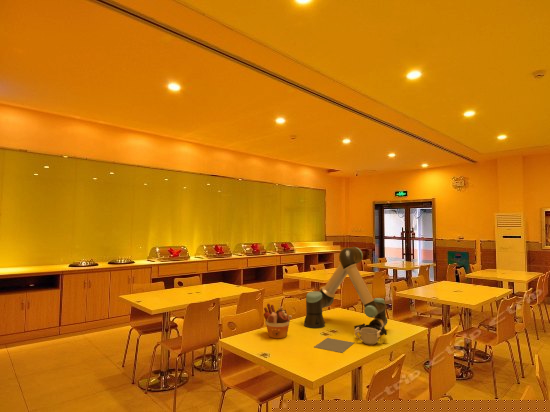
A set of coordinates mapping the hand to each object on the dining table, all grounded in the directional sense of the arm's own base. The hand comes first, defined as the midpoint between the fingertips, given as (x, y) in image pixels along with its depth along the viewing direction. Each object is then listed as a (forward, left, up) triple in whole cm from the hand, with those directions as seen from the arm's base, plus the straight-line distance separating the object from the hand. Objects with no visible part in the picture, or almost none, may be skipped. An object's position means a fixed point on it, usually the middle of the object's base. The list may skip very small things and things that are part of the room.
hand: (366, 333), depth 205 cm
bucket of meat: (-55, -14, -7) cm, 57 cm away
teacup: (0, +3, -7) cm, 7 cm away
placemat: (-16, -11, -7) cm, 21 cm away
